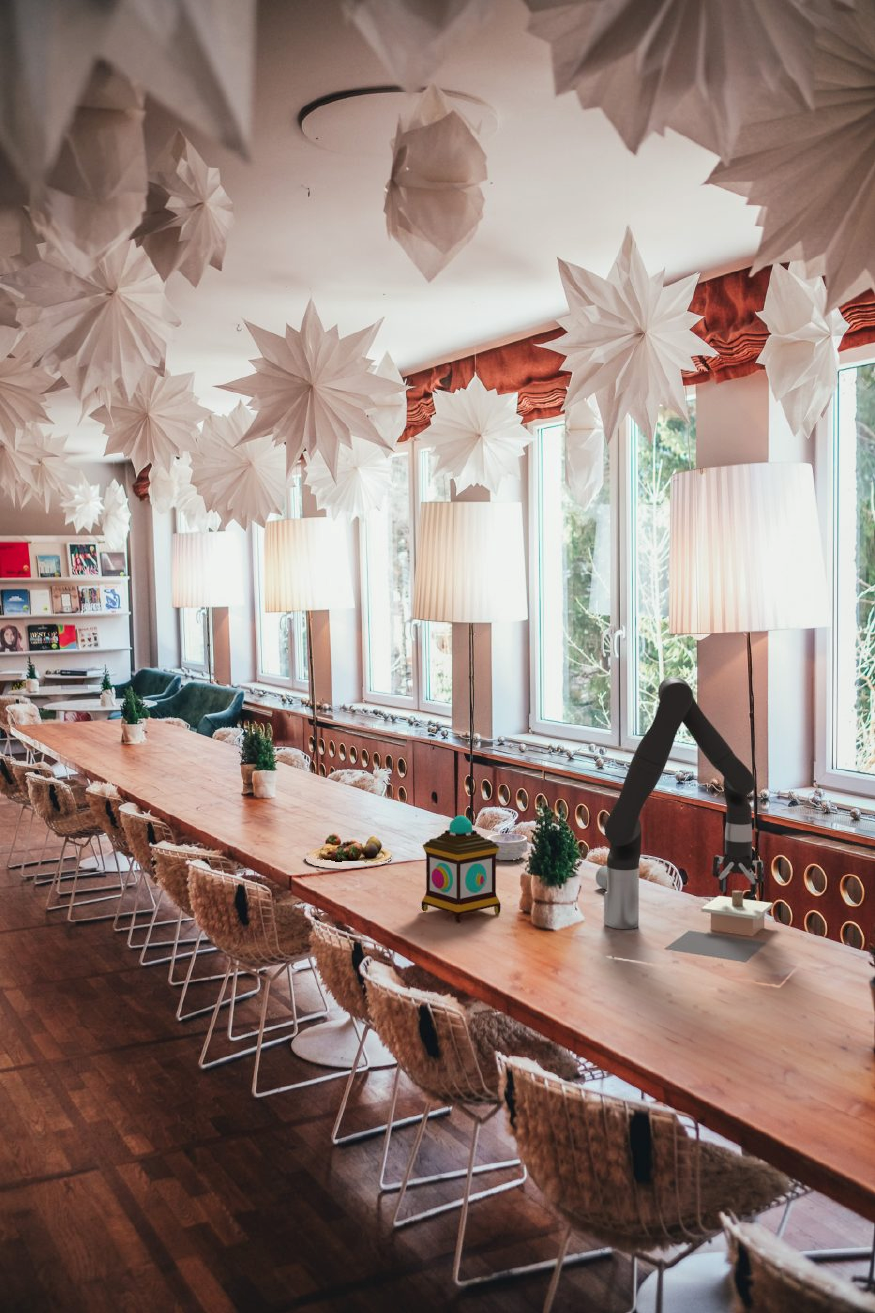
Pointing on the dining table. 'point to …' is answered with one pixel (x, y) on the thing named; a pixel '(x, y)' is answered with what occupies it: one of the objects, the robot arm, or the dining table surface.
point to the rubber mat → (716, 946)
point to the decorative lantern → (461, 871)
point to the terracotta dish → (736, 924)
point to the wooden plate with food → (352, 850)
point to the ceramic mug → (602, 877)
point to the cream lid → (737, 906)
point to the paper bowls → (509, 845)
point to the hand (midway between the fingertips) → (737, 894)
